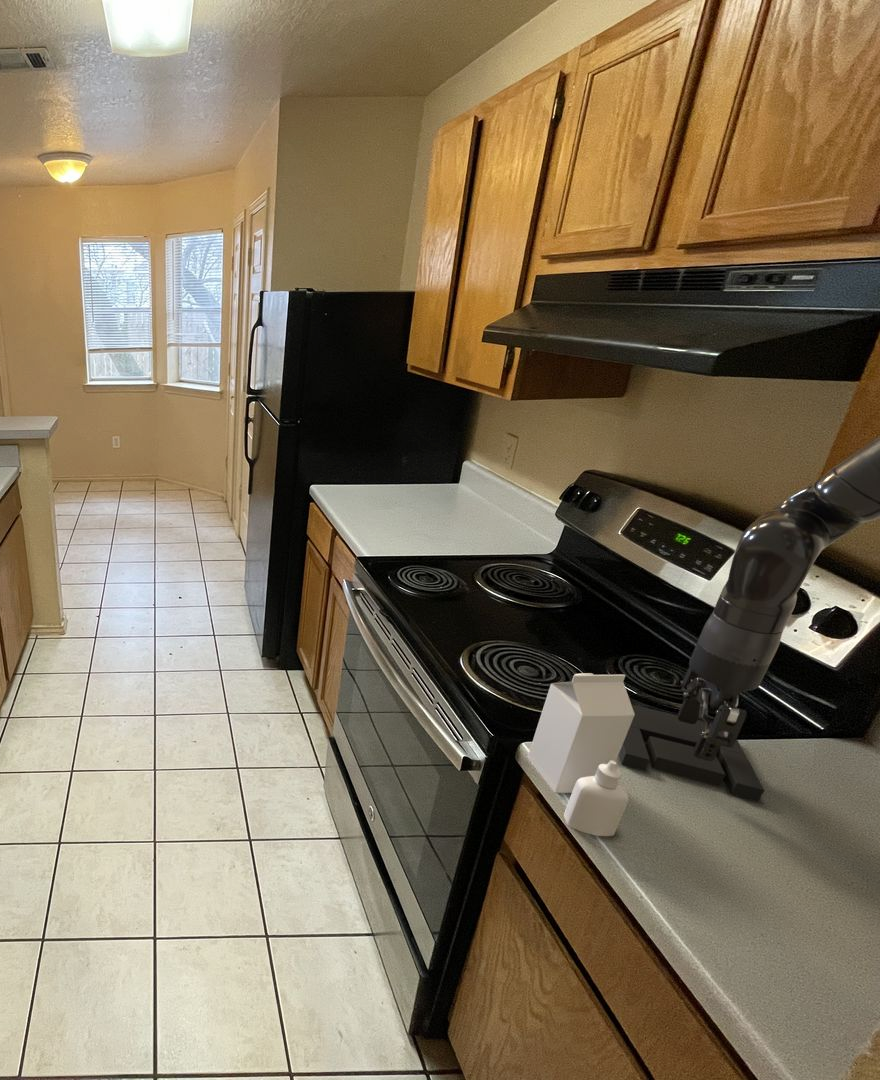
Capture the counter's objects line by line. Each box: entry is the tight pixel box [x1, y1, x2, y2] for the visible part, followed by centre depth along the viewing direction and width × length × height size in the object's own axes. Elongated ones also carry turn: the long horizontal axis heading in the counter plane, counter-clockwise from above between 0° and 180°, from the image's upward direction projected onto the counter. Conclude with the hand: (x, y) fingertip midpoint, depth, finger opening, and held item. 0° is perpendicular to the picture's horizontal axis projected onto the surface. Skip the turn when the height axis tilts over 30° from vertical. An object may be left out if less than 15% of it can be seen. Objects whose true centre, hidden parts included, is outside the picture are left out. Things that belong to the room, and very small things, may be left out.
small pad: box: [645, 736, 725, 787], centre depth 90 cm, size 8×5×3 cm, turn 63°
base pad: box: [618, 703, 765, 802], centre depth 92 cm, size 16×14×3 cm
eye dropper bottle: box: [563, 760, 629, 837], centre depth 78 cm, size 4×6×12 cm
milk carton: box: [527, 672, 635, 794], centre depth 85 cm, size 7×7×19 cm
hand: (693, 738), depth 88 cm, fingers open, 8 cm apart
